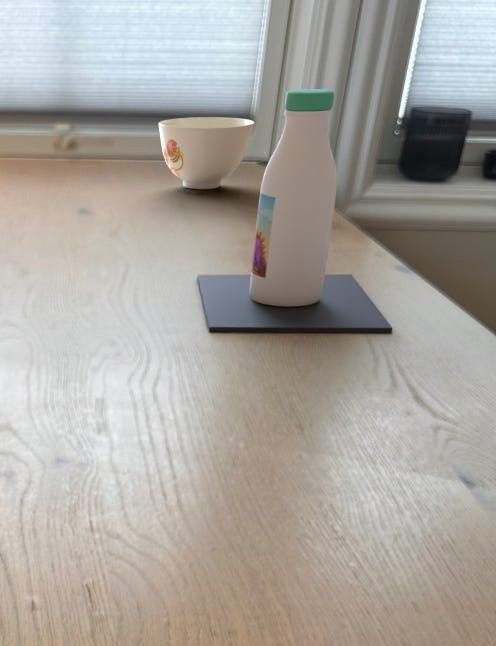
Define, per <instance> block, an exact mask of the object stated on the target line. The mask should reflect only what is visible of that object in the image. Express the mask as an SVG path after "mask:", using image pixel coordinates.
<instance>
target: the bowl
mask: <svg viewBox="0 0 496 646" xmlns="http://www.w3.org/2000/svg"><path fill="white" fill-rule="evenodd" d="M254 125H255V122H254V120H250V119H247V118H238V117H221V116H219V117H217V116H206V117H205V116H201V117H198V116H197V117H181V118H171V119H165V120H161V121H159V122H158V130H159V136H160V144H161V150H162V154H163V158H164V161H165V164H166V165H167V167H168V168H169V170H170V172H172V174H174V175H175V176H176V177H177V178H179V179H180V180H182V186H183V188H185V189H190V190H213V189H217V188H219V187H220V186H221V182H222V180H224V179H225V178H228V177H229V176H230V175H231V174H232V173H233V172H235V171H236V169H237V168H238V167H239V166H240V164H241V163H242V161H243V159H244V157H245V154H246V152H247V148H248V146H249V142H250V139H251V136H252V132H253V129H254Z"/></svg>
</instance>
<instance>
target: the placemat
mask: <svg viewBox="0 0 496 646" xmlns="http://www.w3.org/2000/svg"><path fill="white" fill-rule="evenodd" d="M250 280H251V274H196V281H197V284H198V289H199V294H200V298H201V302H202V307H203V311H204V316H205V320H206V324H207V325H206V326H207V328H208V329H207V330H208V332H209V333H338V334H339V333H344V334H345V333H349V334H350V333H353V334H358V333H361V334H363V333H364V334H365V333H366V334H367V333H368V334H369V333H370V334H372V333H373V334H390V333H391V334H392V333H393V327H392V326H391V324H390V323H389V321H388V320H387V319H386V317H385V316H384V315H383V313H382V312H381V311H380V309H378V307H377V306H376V304H375V303H374V302H373V300H372V299H371V298H370V297H369V296H368V294H367V293H366V291H365V290H364V289H363V288H362V286H361V285H360V284H359V283H358V281H357V280H356V279H355V277H354V276H353V275H352V274H325V277H324V284H323V290H322V295H321V297H320V299H319V300H318V302H316V303H313V304H310V305H304V306H274V305H267V304H263V303H259V302H256V301H254V300H253V299H251V296H250Z"/></svg>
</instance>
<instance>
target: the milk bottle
mask: <svg viewBox="0 0 496 646" xmlns="http://www.w3.org/2000/svg"><path fill="white" fill-rule="evenodd" d="M334 100H335V92H334V91H333V90H330V89H324V88H323V89H322V88H319V89H318V88H303V89H291V90H288V91H287V92H286V95H285V99H284V112H283V116H284V117H285V122H284V126H283V130H282V133H281V136H280V139H279V140H278V143H277V145H276V147H275V149H274V151H273V153H272V155H271V156H270V158H269V161H268V162H267V165H266V168H265V169H264V174H263V177H262V181H261V185H260V193H259V198H258V199H259V200H258V207H257V216H256V223H255V234H254V243H253V251H252V260H251V261H252V263H251V272H250V275H251V280H250V296H251V299H253V300H254V301H256V302H259V303H263V304H267V305H274V306H304V305H310V304H313V303H316V302H318V300H319V299H320V297H321V295H322V290H323V284H324V277H325V275H326V269H327V263H328V255H329V248H330V241H331V233H332V229H333V228H332V227H333V220H334V214H335V213H334V212H335V206H336V205H335V204H336V195H337V185H338V183H337V182H338V181H337V179H338V176H337V167H336V161H335V158H334V155H333V151H332V147H331V143H330V136H329V120H330V116H332V109H333V106H334Z"/></svg>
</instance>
